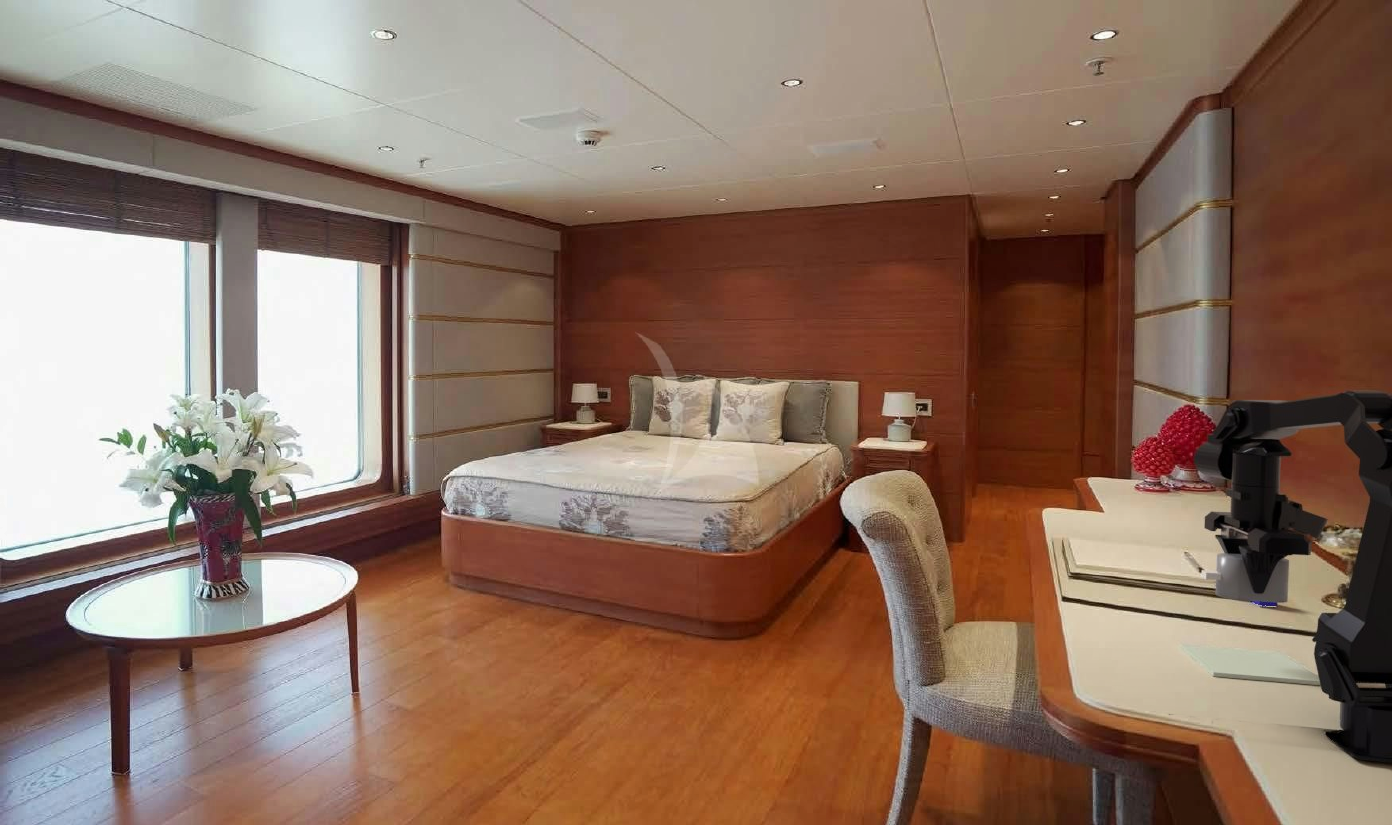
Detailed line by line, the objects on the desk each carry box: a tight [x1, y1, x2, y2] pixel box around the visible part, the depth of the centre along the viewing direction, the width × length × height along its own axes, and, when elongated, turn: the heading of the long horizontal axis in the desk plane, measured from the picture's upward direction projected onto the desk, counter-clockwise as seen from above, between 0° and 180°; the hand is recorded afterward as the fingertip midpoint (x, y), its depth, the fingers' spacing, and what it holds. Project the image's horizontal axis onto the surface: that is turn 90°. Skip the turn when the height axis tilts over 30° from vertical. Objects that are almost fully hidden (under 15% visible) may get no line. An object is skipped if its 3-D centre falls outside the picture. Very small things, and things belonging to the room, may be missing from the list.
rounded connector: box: [1201, 552, 1290, 604], centre depth 112 cm, size 4×11×6 cm, turn 77°
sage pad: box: [1179, 643, 1321, 686], centre depth 112 cm, size 12×14×1 cm
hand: (1251, 589), depth 112 cm, fingers closed on rounded connector, 4 cm apart
